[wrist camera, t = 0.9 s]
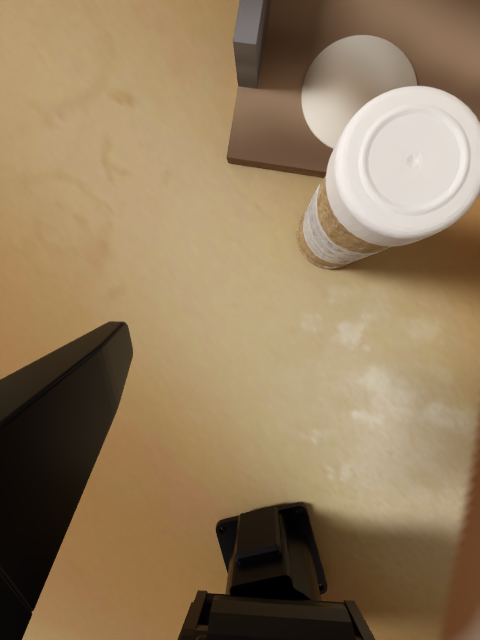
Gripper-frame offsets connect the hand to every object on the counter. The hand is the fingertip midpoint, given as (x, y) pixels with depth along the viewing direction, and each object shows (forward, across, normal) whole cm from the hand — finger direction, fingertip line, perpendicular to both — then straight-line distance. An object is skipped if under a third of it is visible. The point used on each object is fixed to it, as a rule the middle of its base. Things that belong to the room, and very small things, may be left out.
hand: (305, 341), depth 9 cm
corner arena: (+21, -5, -6) cm, 22 cm away
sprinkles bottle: (+16, -3, +3) cm, 17 cm away
